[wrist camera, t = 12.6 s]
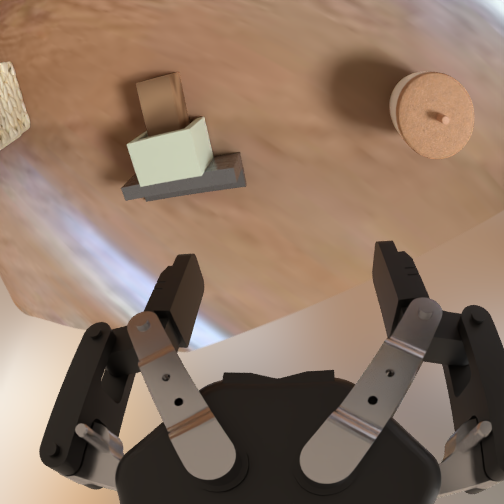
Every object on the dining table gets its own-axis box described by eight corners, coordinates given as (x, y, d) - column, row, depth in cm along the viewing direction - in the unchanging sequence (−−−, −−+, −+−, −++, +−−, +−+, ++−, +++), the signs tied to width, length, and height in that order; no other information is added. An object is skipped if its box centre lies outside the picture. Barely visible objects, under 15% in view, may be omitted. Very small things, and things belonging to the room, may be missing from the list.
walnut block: (149, 79, 36) (135, 83, 33) (179, 71, 36) (168, 74, 32) (167, 157, 43) (156, 168, 40) (196, 152, 42) (187, 163, 39)
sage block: (147, 129, 40) (126, 144, 35) (204, 116, 39) (189, 128, 33) (158, 167, 44) (140, 187, 38) (213, 157, 42) (201, 175, 37)
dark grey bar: (138, 171, 45) (121, 188, 40) (239, 152, 42) (233, 167, 37) (147, 199, 47) (132, 218, 43) (246, 184, 45) (241, 203, 40)
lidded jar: (364, 87, 34) (386, 97, 27) (427, 56, 30) (461, 60, 22) (400, 153, 39) (425, 179, 32) (457, 122, 35) (491, 142, 27)
